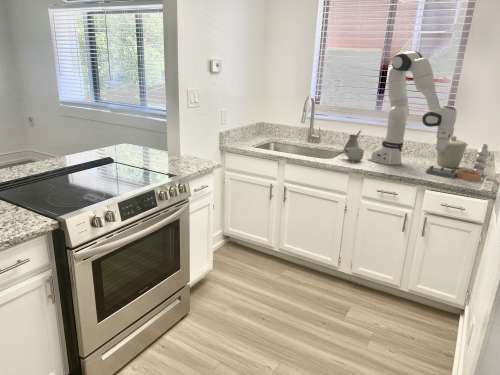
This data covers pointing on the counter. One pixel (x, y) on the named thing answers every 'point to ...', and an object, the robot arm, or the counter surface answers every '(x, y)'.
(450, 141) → the canister
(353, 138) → the coffee pot
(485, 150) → the silver metal bottle
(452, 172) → the slate tray
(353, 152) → the teacup
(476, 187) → the counter surface
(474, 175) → the terracotta bowl
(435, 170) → the tan block
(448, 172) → the cream matte cube
